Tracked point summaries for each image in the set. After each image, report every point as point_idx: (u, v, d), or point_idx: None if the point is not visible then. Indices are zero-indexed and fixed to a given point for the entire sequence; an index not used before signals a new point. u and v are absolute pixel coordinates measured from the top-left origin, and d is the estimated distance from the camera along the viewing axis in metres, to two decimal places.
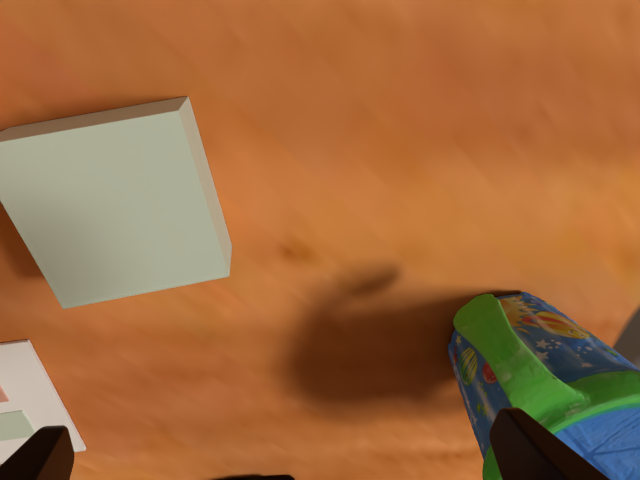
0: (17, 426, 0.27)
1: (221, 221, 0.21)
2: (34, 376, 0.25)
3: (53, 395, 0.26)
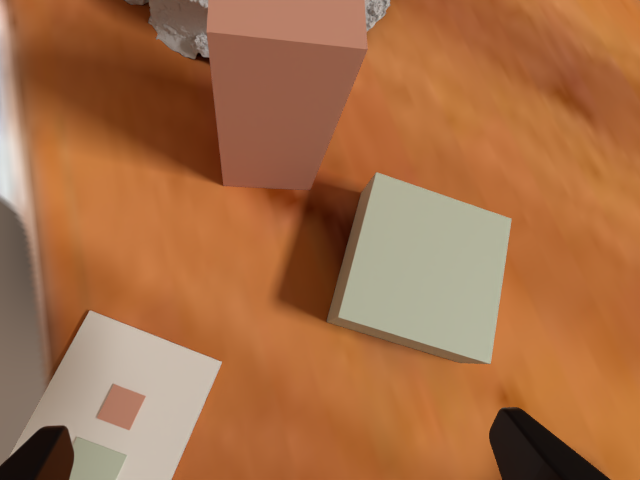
0: None
1: None
2: (186, 411, 0.20)
3: (179, 453, 0.20)
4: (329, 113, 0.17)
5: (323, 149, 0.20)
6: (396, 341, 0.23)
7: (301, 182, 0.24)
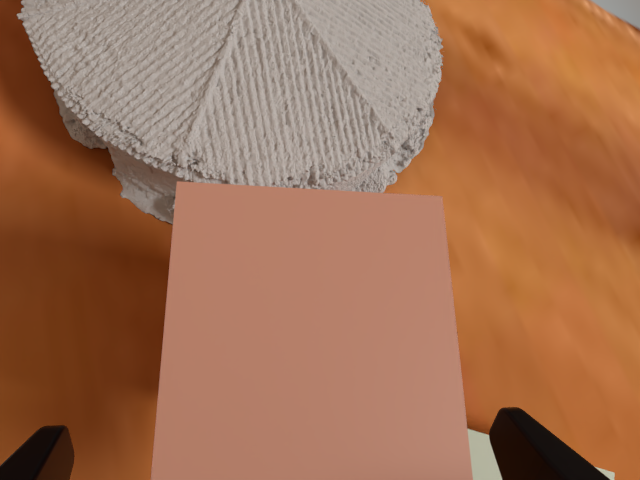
0: None
1: None
2: None
3: None
4: None
5: None
6: None
7: None
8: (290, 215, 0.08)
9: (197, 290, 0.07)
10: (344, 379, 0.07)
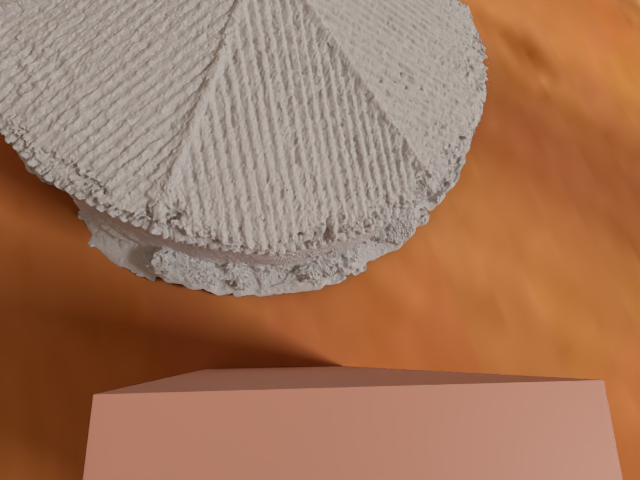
0: None
1: None
2: None
3: None
4: None
5: None
6: None
7: None
8: (326, 452, 0.04)
9: None
10: None
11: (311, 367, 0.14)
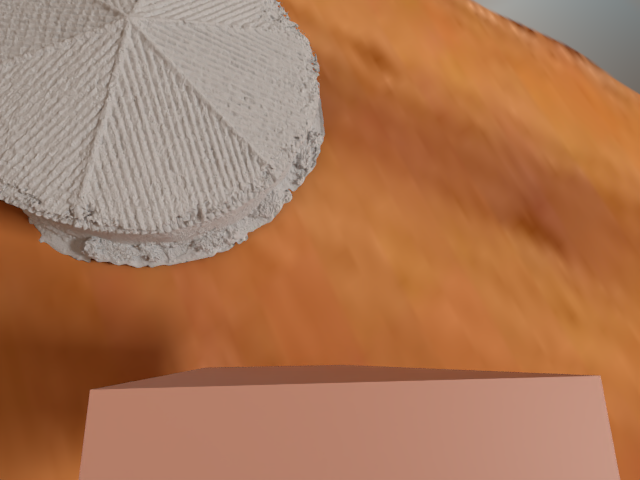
0: None
1: None
2: None
3: None
4: None
5: None
6: None
7: None
8: (323, 447, 0.04)
9: None
10: None
11: None
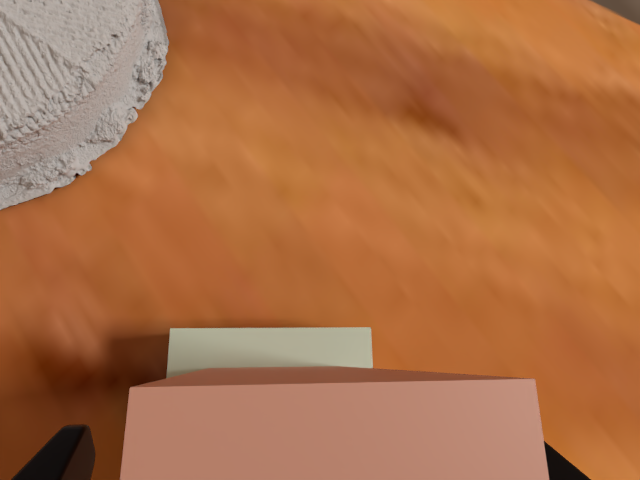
0: None
1: None
2: None
3: None
4: None
5: None
6: None
7: None
8: (309, 433, 0.05)
9: None
10: None
11: None
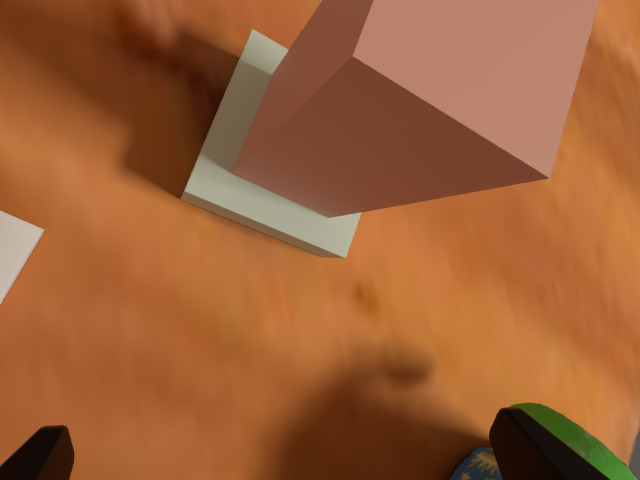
0: None
1: None
2: None
3: None
4: (424, 191, 0.12)
5: (380, 206, 0.15)
6: (256, 228, 0.21)
7: (325, 210, 0.19)
8: None
9: None
10: (500, 61, 0.08)
11: None
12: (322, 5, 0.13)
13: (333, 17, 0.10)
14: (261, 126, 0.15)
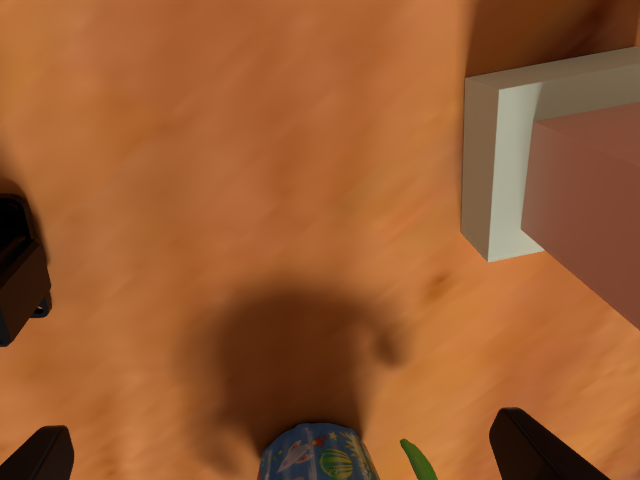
0: None
1: None
2: None
3: None
4: None
5: (599, 292, 0.15)
6: (469, 164, 0.20)
7: (534, 227, 0.18)
8: None
9: None
10: None
11: None
12: None
13: None
14: (633, 143, 0.14)
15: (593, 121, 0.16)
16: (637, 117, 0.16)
